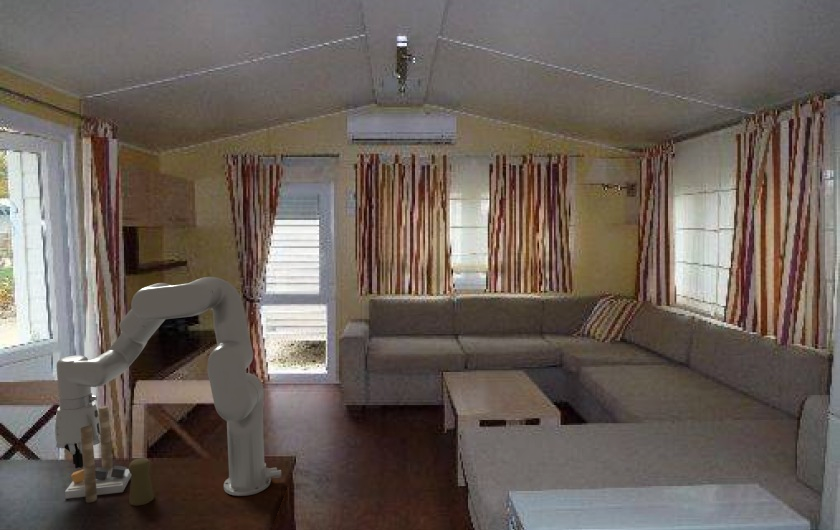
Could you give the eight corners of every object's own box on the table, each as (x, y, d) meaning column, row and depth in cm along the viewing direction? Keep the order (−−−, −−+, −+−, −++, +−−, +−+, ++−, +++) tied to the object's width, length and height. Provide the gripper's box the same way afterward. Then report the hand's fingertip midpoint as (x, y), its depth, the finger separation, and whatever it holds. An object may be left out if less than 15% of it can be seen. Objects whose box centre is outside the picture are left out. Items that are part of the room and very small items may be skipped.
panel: (131, 475, 165) (131, 467, 165) (122, 492, 155) (122, 484, 155) (78, 480, 162) (77, 473, 162) (65, 498, 152) (64, 490, 152)
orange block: (87, 476, 159) (84, 468, 158) (85, 479, 157) (82, 471, 156) (76, 480, 158) (73, 472, 158) (74, 483, 156) (70, 475, 156)
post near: (98, 496, 153) (93, 425, 151) (95, 501, 150) (90, 429, 148) (87, 498, 152) (82, 426, 150) (84, 503, 150) (79, 430, 148)
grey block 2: (124, 475, 161) (126, 466, 161) (122, 478, 159) (124, 470, 159) (112, 473, 160) (114, 465, 160) (110, 476, 158) (112, 468, 158)
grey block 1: (106, 476, 160) (108, 468, 160) (104, 480, 158) (106, 472, 158) (95, 475, 159) (97, 467, 159) (93, 478, 157) (94, 470, 157)
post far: (114, 471, 167) (109, 405, 165) (111, 475, 165) (107, 409, 163) (104, 472, 167) (99, 406, 165) (101, 476, 164) (96, 409, 162)
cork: (144, 506, 148) (141, 466, 147) (123, 504, 149) (121, 464, 148) (159, 494, 154) (156, 456, 153) (139, 492, 155) (137, 454, 154)
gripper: (109, 394, 160) (114, 456, 162) (50, 399, 157) (55, 462, 159) (101, 403, 153) (106, 468, 155) (39, 409, 149) (44, 475, 151)
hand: (80, 465), depth 157 cm, fingers closed
